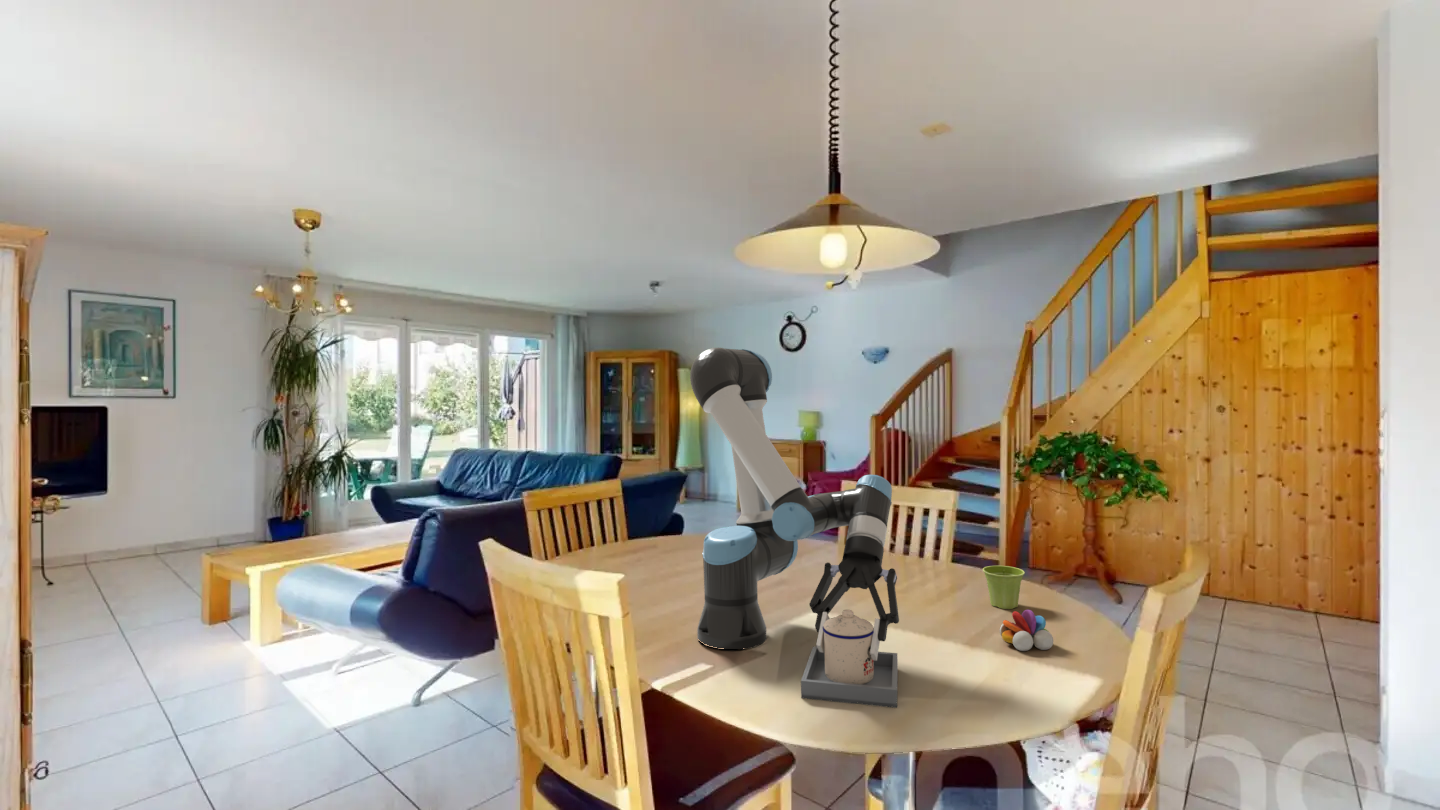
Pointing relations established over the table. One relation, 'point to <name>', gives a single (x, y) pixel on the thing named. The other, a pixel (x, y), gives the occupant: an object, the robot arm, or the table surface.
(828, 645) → the teacup with lid
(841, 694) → the tray
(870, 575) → the robot arm
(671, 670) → the table surface
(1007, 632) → the rainbow segmented toy
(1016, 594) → the plant pot
